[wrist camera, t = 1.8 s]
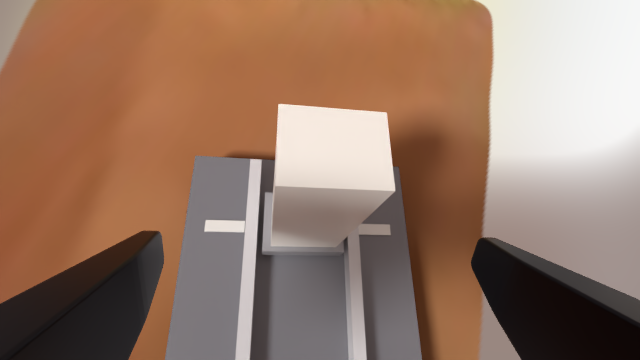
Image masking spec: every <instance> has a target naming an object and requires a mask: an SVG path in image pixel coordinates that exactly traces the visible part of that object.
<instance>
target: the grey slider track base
mask: <svg viewBox="0 0 640 360" xmlns="http://www.w3.org/2000/svg"><path fill="white" fill-rule="evenodd" d="M274 171H275V160H263V159H245V158H226V157H208V156H195V162H194V169H193V176H192V182H191V189H190V196H189V203H188V209H187V216H186V223H185V229H184V236H183V243H182V249H181V256H180V263H179V269H178V276H177V283H176V290H175V296H174V303H173V310H172V316H171V323H170V330H169V336H168V343H167V350H166V356H165V360H422V355H421V347H420V339H419V331H418V322H417V314H416V306H415V297H414V289H413V281H412V273H411V264H410V256H409V248H408V240H407V231H406V223H405V215H404V206H403V198H402V190H401V182H400V173H399V167H393V174H394V182H395V192H394V193H393V194H392V195H391V196H390V197H389V198H388V199H386V200H385V201H384V202H383V203H382V204H381V205H380V206H379V207H378V208H377V209H376V210H375V211H374V212H373V213H372V214H371V215H369V216H368V217H367V218H366V219H365V220H364V221H363V222H362V223H361V224H360V225H359V226H358V227H357V228H356V229H355V230H354V231H352V232H351V233H350V234H349V235H348V236H347V237H346V238H345V239H344V240H343V243H344V253H342V254H341V255H340V256H324V255H262V243H263V224H264V206H265V192H268V193H273V187H274Z"/></svg>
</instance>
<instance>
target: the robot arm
mask: <svg viewBox="0 0 640 360" xmlns="http://www.w3.org/2000/svg"><path fill="white" fill-rule="evenodd" d="M163 264H164V253H163V244H162V236H161V233H160V232H159V231H141V232H139V233H137V234H135V235H133V236H131V237H129V238H128V239H126V240H124V241H122V242H120V243H118V244H116V245H114V246H112V247H110V248H108V249H106V250H104V251H102V252H100V253H98V254H96V255H94V256H92V257H90V258H88V259H87V260H85V261H83V262H81V263H79V264H77V265H75V266H73V267H71V268H69V269H67V270H65V271H63V272H61V273H59V274H57V275H55V276H53V277H51V278H49V279H48V280H46V281H44V282H42V283H40V284H38V285H36V286H34V287H32V288H30V289H28V290H26V291H24V292H22V293H20V294H18V295H16V296H14V297H12V298H10V299H8V300H7V301H5V302H3V303H1V304H0V360H128V359H129V357H130V354H131V352H132V350H133V348H134V346H135V343H136V341H137V339H138V337H139V335H140V332H141V330H142V328H143V325H144V323H145V321H146V318H147V315H148V312H149V309H150V306H151V303H152V300H153V296H154V293H155V290H156V287H157V284H158V281H159V278H160V274H161V271H162V268H163ZM471 266H472V269H473V271H474V273H475V276H476V278H477V280H478V282H479V284H480V286H481V288H482V290H483V292H484V294H485V296H486V298H487V300H488V303H489V305H490V307H491V308H492V311H493V312H494V314H495V316H496V318H497V320H498V322H499V323H500V325H501V327H502V328H503V330H504V331H505V333H506V334H507V336H508V338H509V340H510V341H511V343H512V345H513V347H514V348H515V350H516V351H517V353H518V355H519V356H520V358H521V360H640V301H639V300H638V299H636V298H634V297H631V296H629V295H627V294H624V293H622V292H620V291H617V290H615V289H613V288H610V287H608V286H606V285H603V284H601V283H599V282H596V281H594V280H592V279H589V278H587V277H585V276H582V275H580V274H577V273H575V272H573V271H571V270H568V269H566V268H563V267H561V266H559V265H557V264H554V263H552V262H550V261H547V260H545V259H543V258H540V257H538V256H536V255H534V254H531V253H529V252H527V251H524V250H522V249H520V248H517V247H515V246H513V245H510V244H508V243H506V242H503V241H501V240H498V239H496V238H480V239H479V240H478V242H477V245H476V248H475V251H474V254H473V257H472V260H471Z"/></svg>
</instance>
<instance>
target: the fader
mask: <svg viewBox="0 0 640 360" xmlns="http://www.w3.org/2000/svg"><path fill="white" fill-rule="evenodd" d="M394 192H395V182H394V174H393V165H392V156H391V147H390V138H389V129H388V121H387V113H385V112H373V111H360V110H348V109H336V108H323V107H311V106H298V105H286V104H279V107H278V123H277V139H276V155H275V171H274V187H273V193H268V192H265V206H264V224H263V243H262V255H324V256H340V255H341V254H342V253H344V243H343V240H344V239H345V238H346V237H347V236H348V235H349V234H350V233H351V232H352V231H354V230H355V229H356V228H357V227H358V226H359V225H360V224H361V223H362V222H363V221H364V220H365V219H366V218H367V217H368V216H369V215H371V214H372V213H373V212H374V211H375V210H376V209H377V208H378V207H379V206H380V205H381V204H382V203H383V202H384V201H385V200H386V199H388V198H389V197H390V196H391V195H392V194H393V193H394Z"/></svg>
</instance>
